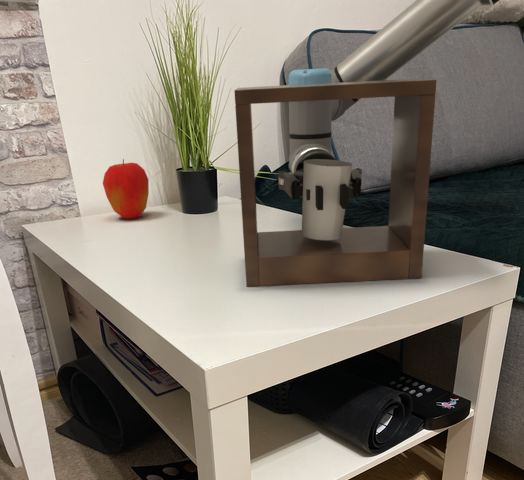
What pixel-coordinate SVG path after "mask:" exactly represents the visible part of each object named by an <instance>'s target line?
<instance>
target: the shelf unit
mask: <svg viewBox="0 0 524 480" xmlns="http://www.w3.org/2000/svg"><path fill="white" fill-rule="evenodd" d="M437 82H438V81H437V79H423V78H421V79H420V78H415V79H414V78H404V79H403V78H400V79H386V80H381V81H361V82H342V83H322V84H303V85H289V84H287V85H285V84H284V85H265V86H247V87H237V88H236V89H234V91H233V92H234V104H235V108H234V109H235V122H236V124H235V125H236V139H237V154H238V156H237V157H238V171H239V172H238V173H239V188H240V206H241V218H242V219H241V220H242V233H243V234H242V235H243V251H244V252H243V253H244V254H243V256H244V268H245V269H244V270H245V285H246V287H247V288H248V287H259V286H260V287H265V286H266V287H267V286H287V285H305V284H306V285H307V284H324V283H326V284H328V283H349V282H368V281H369V282H371V281H390V280H407V279H409V280H410V279H422V276H423V263H424V251H425V250H424V249H425V238H426V237H425V236H426V224H427V211H428V199H429V185H430V171H431V159H432V158H431V157H432V148H433V147H432V146H433V135H434V134H433V132H434V121H435V119H434V118H435V106H436V94H437ZM391 97H392V98H393V97H394V101H393V102H394V103H393V104H394V105H393V124H392V125H393V127H392V143H391V144H392V147H391V165H390V185H389V205H388V207H389V208H388V225H380V226H375V225H374V226H361V227H360V226H357V227H342V234H341V238H339V239H336V240H316V239H310V238H307V237H304V236H303V235H302V234H301V233H302V229H298V230H297V229H296V230H295V229H294V230H277V231H259V230H258V213H257V194H256V193H257V192H256V174H255V172H256V171H255V156H254V155H255V153H254V133H253V113H252V105H255V104H274V103H275V104H276V103H289V102H297V101H317V100H337V99H356V98H361V99H371V98H372V99H373V98H375V99H376V98H391Z"/></svg>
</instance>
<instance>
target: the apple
mask: <svg viewBox="0 0 524 480" xmlns="http://www.w3.org/2000/svg"><path fill="white" fill-rule="evenodd" d="M149 185H150V184H149V178H148V175H147V172H146V170H145V169H144V168H143V167H142V166H141V165H140V164H139V163H137V162H125V159H124V158H123V159H122V163H117V164H113V165H110V166H108V168H107V169H106V171H105V172H104V175H103V180H102V186H103V189H104V192H105V196H106V199H107V200H108V203H109V204H110V206H111V208H112V210H113V212H114V213H116V214H117V215H118V216H120V217H121V218H122V219H128V220H129V219H131V220H132V219H138V218H140V217H141V216H142V214H143V213H144V211H145V210H146V209H147V205H148V198H149V193H150V192H149V189H150V188H149Z"/></svg>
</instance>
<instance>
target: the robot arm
mask: <svg viewBox="0 0 524 480" xmlns="http://www.w3.org/2000/svg"><path fill="white" fill-rule="evenodd" d="M499 1H500V0H415V1H414V2H412V3H411V4H410V5H408V7H406V8H405V9H404V10H403V11H401V12H400V13H399V14H397V16H395V17H394V18H393V19H391V21H389V22H388V23H387V24H386V25H385V26H383V27H382V28H381V29H380V30H378V31H377V32H376V33H375V34H373V35H372V36H371V37H369V39H368V40H366V41H365V42H364V43H362V45H360V46H359V47H358V48H357V49H355V50H354V51H353V52H352V53H351V54H349V55H348V56H347V57H345V58H344V60H342V61H341V62H340V63H339V64H337V65H336V66H335V67H334V68H332V69H331V70H330V69H329V68H325V67H324V68H308V69H307V68H305V69H303V68H302V69H293V70H291V72H290V73H289V75H288V85H303V84H322V83H342V82H361V81H381V80H388V79H389V78H390V77H392V75H394V74H395V73H397V71H399V70H400V69H402V68H403V67H404V66H405V65H407V64H408V63H409V62H411V61H412V60H414V59H415V58H416V57H417V56H419V55H420V54H421V53H423V52H424V51H425V50H426V49H428V48H429V47H430V46H432V45H433V44H434V43H436V42H437V41H438V40H439V39H441V38H442V37H443V36H445V35H447V33H448V32H450V31H451V30H453V29H454V28H455V27H457V26H458V25H459V24H461V22H463V21H464V20H466V19H467V18H469V17H470V16H471V15H472V14H473V13H475V12H476V11H477V10H479V9H481V7H493V6H494V5H495V4H497V3H498V2H499ZM361 99H362V98H356V99H337V100H317V101H297V102H288V119H289V120H288V121H289V123H288V125H289V126H288V127H289V128H288V129H289V139H288V140H289V155H288V169H289V172H286V171H283V170H281V171H279V172H278V190H282V191H284V192H285V193H286V194H287V195H288V196H289V197H290V199H292V200H294V201H297V200H299V199H301V197H303V173H304V161H305V160H312V159H326V160H337V159H336V157H335V156H334V155H333V154H332V122H334V121H336V120H337V119H339V118H341V117H342V116H343V115H344V114H345V112H346V111H347V110H348V109H350V108H351V107H352V106H354V105H355V104H357V102H359V101H360V100H361ZM362 181H363V168H360V167H356V168H354V169H351V175H350V182H349V187H348V186H347V185H346V184H341V185H340V206H341V207H342V209H345V210H349V200H353V197H354V198H359V197H361V196H362V185H363V184H362ZM306 200H310V190H308V189H306ZM315 200H316V208H317V210H323V188H322V186H315Z"/></svg>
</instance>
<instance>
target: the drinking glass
mask: <svg viewBox="0 0 524 480" xmlns="http://www.w3.org/2000/svg"><path fill="white" fill-rule="evenodd" d="M352 168H353V163H351V162H349V161H343V160H337V159H336V160H326V159H312V160H305V161H304V173H303V196H302V204H301V205H302V207H301V230H302V233H301V234H302V235H303V236H304V237H307V238H310V239H316V240H336V239H339V238H341V234H342V228H344V222H345V221H344V219H345V214H346V209H342V207H341V206H340V185H341V184H346V185H347V186H348V187H349V182H350V175H351V170H353V169H352ZM315 186H322V188H323V210H317V208H316V200H315ZM306 189H308V190H310V200H306Z"/></svg>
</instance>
